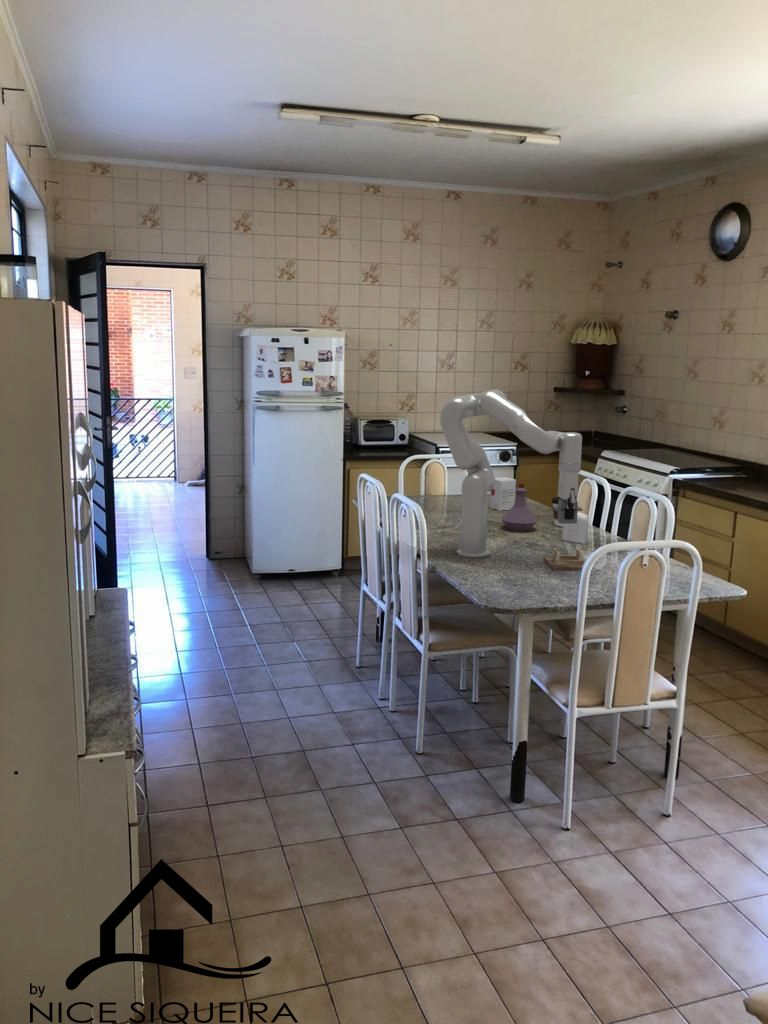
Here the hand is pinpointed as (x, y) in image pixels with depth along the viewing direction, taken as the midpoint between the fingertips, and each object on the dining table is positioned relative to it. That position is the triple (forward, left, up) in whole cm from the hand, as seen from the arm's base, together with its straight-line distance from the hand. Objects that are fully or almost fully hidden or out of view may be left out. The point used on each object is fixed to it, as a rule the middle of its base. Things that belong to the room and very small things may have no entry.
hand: (567, 517), depth 292 cm
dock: (0, +1, -18) cm, 18 cm away
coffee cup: (-64, +17, -18) cm, 69 cm away
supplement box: (-99, -3, -18) cm, 101 cm away
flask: (-57, -4, -18) cm, 60 cm away
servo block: (0, 0, -2) cm, 2 cm away
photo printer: (-35, +14, -18) cm, 42 cm away
